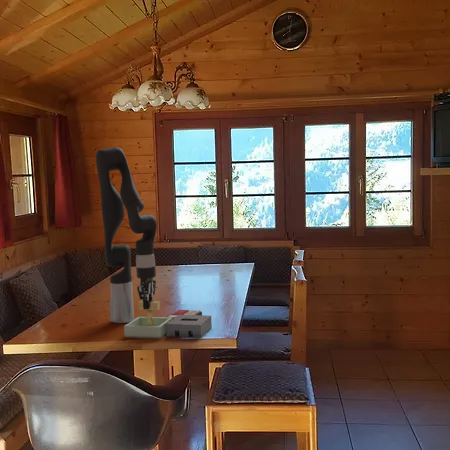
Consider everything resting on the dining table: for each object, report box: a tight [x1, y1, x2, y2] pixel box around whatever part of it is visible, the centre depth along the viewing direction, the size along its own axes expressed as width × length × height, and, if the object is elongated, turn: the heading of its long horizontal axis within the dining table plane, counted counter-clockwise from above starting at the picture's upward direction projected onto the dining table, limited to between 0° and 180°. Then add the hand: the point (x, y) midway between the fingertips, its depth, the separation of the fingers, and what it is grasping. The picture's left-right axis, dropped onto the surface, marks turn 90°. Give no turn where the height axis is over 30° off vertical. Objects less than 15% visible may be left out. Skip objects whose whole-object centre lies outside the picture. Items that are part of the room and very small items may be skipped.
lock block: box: [166, 314, 213, 339], centre depth 230 cm, size 14×14×5 cm
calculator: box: [166, 309, 203, 319], centre depth 246 cm, size 11×4×15 cm
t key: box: [138, 300, 161, 326], centre depth 231 cm, size 8×2×12 cm, turn 75°
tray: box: [123, 316, 173, 339], centre depth 231 cm, size 15×14×4 cm
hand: (148, 307), depth 230 cm, fingers open, 3 cm apart
